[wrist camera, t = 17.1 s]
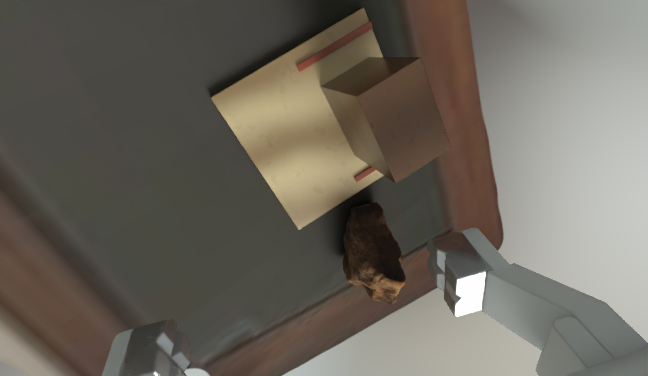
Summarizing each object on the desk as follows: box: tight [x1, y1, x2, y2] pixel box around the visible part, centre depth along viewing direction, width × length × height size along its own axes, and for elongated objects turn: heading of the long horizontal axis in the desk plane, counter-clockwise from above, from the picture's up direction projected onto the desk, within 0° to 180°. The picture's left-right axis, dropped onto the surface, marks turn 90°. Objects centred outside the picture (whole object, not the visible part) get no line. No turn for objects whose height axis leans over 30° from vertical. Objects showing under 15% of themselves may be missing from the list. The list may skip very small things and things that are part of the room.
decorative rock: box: [343, 202, 406, 304], centre depth 46 cm, size 12×6×11 cm, turn 175°
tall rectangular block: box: [321, 57, 451, 183], centre depth 38 cm, size 10×7×11 cm
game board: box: [211, 8, 384, 230], centre depth 43 cm, size 20×20×1 cm
